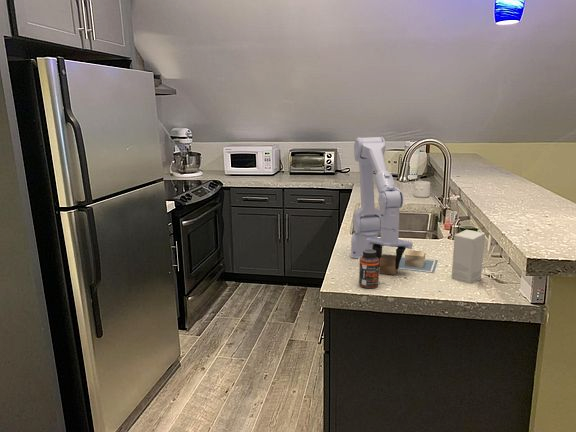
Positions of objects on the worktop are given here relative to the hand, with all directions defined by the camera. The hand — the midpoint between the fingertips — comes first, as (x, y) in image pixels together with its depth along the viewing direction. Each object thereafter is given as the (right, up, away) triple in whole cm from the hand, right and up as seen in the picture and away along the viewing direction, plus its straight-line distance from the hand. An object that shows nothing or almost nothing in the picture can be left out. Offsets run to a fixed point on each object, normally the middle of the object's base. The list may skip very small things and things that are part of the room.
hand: (388, 267), depth 147 cm
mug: (+49, +29, +133) cm, 145 cm away
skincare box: (+23, -4, -6) cm, 24 cm away
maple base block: (+11, 0, +7) cm, 13 cm away
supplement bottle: (-8, -5, -8) cm, 12 cm away
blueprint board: (+11, -1, +8) cm, 13 cm away
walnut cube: (0, -1, 0) cm, 2 cm away
